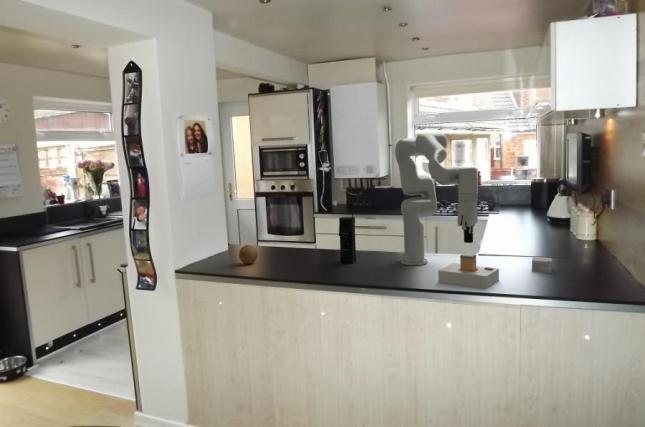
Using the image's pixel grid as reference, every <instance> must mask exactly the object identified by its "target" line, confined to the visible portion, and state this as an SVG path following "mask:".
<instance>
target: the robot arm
mask: <svg viewBox="0 0 645 427" xmlns="http://www.w3.org/2000/svg"><path fill="white" fill-rule="evenodd" d="M447 147H448V138H447V136H446V135H445V134H444V133H442V132H437V131H436V132H423V133H420V134H418V135H417V136H416V137H407V138H402V139H399V140H398V141H397V143H396V144H395V148H394V156H395V159H396V163H397V165H398V169H399V170H398V171H399V176H400V184H401V185H400V186H401V190H402V193H403V194H404V195H406V196H419V195H421V197H420V196H419V197H410V198H409V197H408V198H406V199H404V200H403V201H402V202H401V205H400V210H401V215H402V222H403V223H402V224H403V246H404V248H403V249H404V251H403V252H404V253H403V252H398V253H397V258H402V259H401V264H402V265H406V266H423V265H426V264H428V263H429V260H428V259H426V258H425V227H424V224H423V222H422V221H421V219H420V218H423V217H433V216H434V215H435V214H436V213H437V210H438V203H437V196H436V186H435V182H436V183H437V184H439V185H441V186H450V185H457V186H458V187H457V194H458V195H457V198H458V201H457V202H458V207H457V226H458V227H461V230H462V231H463V242H464V244H465V243H466V244H472V243H474V227H475V225H476V224H477V223H478V205H477V203H478V201H479V198H478V197H479V196H478V195H479V193H478V192H479V185H478V184H479V180H478V177H479V176H478V168H477V167H475V166H464V165H458V166H443V165H442V163H443V162H444V161H445V160H446V159H447V156H448V151H447ZM418 156H419V157H420V156H423V157H425V158H426V159H427V161H428V166H427V167H428V173H429V174H430V175H428V174H419V172H418V166H417V163H416V161H415V160H414V159H413V158H412V157H418ZM434 181H435V182H434Z"/></svg>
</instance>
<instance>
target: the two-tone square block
mask: <svg viewBox="0 0 645 427" xmlns="http://www.w3.org/2000/svg"><path fill="white" fill-rule="evenodd" d="M459 257H460V261H459V264H460V270H462V271H470V272H475V271H476V266H477V254H474V253H473V254H471V253H462V254H460V255H459Z"/></svg>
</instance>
